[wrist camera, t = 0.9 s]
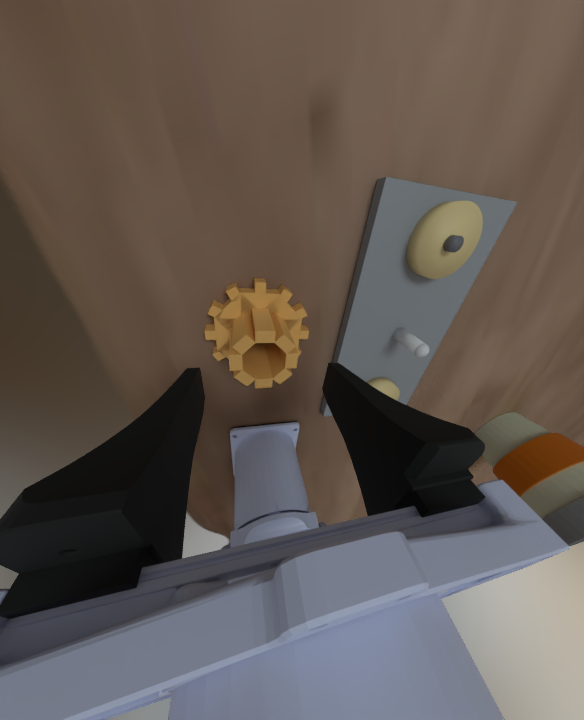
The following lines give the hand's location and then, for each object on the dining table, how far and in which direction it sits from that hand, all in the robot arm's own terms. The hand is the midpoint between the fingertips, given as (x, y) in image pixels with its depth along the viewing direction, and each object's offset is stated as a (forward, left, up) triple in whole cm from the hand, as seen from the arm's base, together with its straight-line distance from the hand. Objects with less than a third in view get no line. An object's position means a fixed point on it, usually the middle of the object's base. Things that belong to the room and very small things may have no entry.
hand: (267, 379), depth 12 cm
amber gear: (0, 0, -7) cm, 7 cm away
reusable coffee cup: (-20, -43, -7) cm, 48 cm away
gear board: (0, -13, -7) cm, 15 cm away
